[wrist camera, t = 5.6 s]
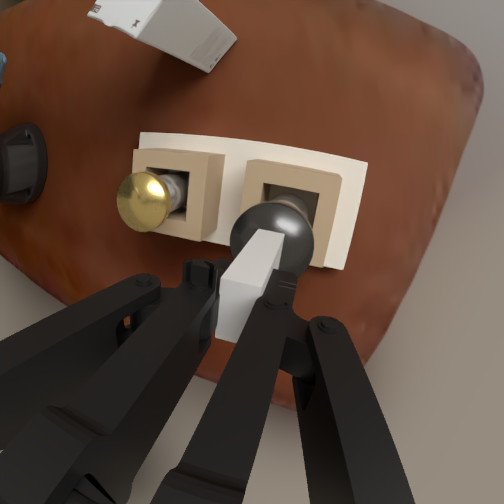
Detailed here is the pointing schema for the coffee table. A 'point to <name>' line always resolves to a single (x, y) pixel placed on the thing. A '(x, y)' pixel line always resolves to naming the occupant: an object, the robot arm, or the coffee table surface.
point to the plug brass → (151, 198)
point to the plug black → (278, 230)
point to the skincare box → (170, 27)
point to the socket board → (280, 154)
